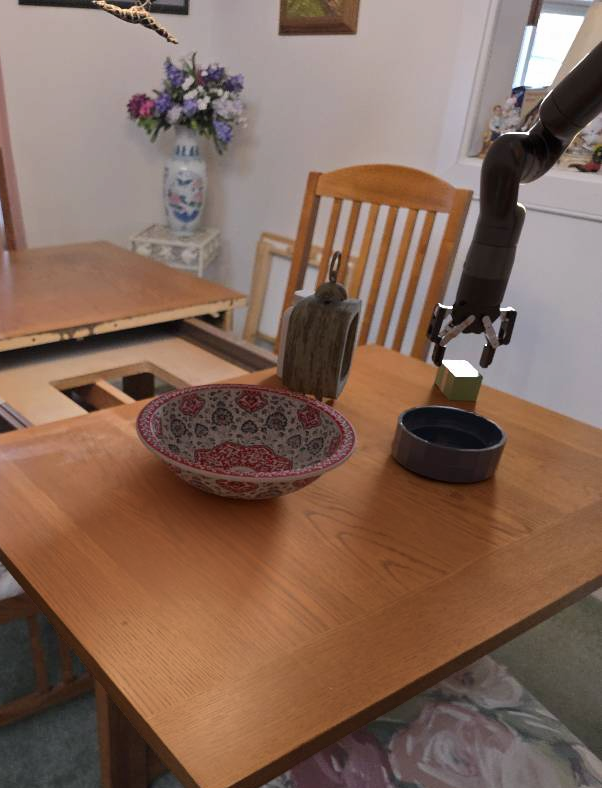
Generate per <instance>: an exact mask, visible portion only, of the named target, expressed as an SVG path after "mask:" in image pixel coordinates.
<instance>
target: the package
mask: <svg viewBox="0 0 602 788" xmlns="http://www.w3.org/2000/svg"><path fill="white" fill-rule="evenodd" d="M483 379H484V376H483V375H482V374H481V373H480V372H479V371H478V370H477V369H476V368H475V367H473V366H472V365H471V363H470V362H468V361H467V360H455V359H453V360H451V359H443V361H442V365H441V367H437V369H436V374H435V378H434V382H433V384H434V383H435V384H436V385H437V386H438V387H439V388H438V387H437V386H436V385H435V384H434V385H435V386H436V387H437V388H438V390H439V391H440V390H441V391H440V392H441V393H442V395H444V396H445V398H446V399H447V401H455V402H456V401H460V402H461V401H464V402H465V401H466V402H477V400H478V397H479V393H480V391H481V387H482V383H483Z"/></svg>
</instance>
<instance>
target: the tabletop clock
mask: <svg viewBox="0 0 602 788" xmlns="http://www.w3.org/2000/svg"><path fill="white" fill-rule="evenodd" d="M336 261H337V265H336V268H335V269H334V267H335V264H336ZM341 263H342V251H341V250H336V251H335V252H334V254H333V256H332V258H331V261H330V265H329V270H328V281H326V282H325V281H324V282H322V283H321V284H319V285H318V286H317V288H316V289H315V290H314V291H315V293H314V294H313V295H310V296H307V297H305V298H303V299H302V300H300V301H299V302H298V304H297V305H296V306H295V307H294V309H293V310H292V312H291V315H290V318H289V323H288V329H287V336H286V344H285V352H284V361H283V370H282V378H281V384H282V385H283V386H284V387H285V388H286V389H288V391H291V392H295V393H298V394H301V395H304V396H313V397H314V399H315V400H317V401H320V402H322V403H323V398H325V399H328V400H335V401H337V400H338V399H339V397H340V396H341V394H342V393H343V391H344V389H345V387H346V385H347V382H348V379H349V377H350V372H351V368H352V363H353V358H354V353H355V348H356V342H357V337H358V331H359V327H360V326H359V324H360V321H361V320H360V319H361V314H362V304H363V299H360V298H359V299H358V298H353V297H348V293H347V290H346V288H345V287H344V285H343V284H342V283H340V282H337V280H338V276H339V273H340V268H341Z"/></svg>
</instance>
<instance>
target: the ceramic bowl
mask: <svg viewBox="0 0 602 788" xmlns="http://www.w3.org/2000/svg"><path fill="white" fill-rule="evenodd" d="M135 431H136V434H137V437H138V439H139V441H140V442H141V444H142V445H143V446H144V447H145V448H146V449H147V450H148V451H149V452H150V453H152V454H153V455H154V456H156V457H158V458H159V459H160V460H161V461H162V462H163V464H164V465H165V466H166V467H167V468H168V469H169V470H170V471H171V472H172V473H173V474H175V475H176V476H177V477H178V478H180V479H181V480H183V481H184V482H185V483H187V484H189V485H190V486H193V487H194V488H197V489H199V490H201V491H203V492H205V493H209V494H213V495H216V496H220V497H224V498H230V499H238V500H263V499H264V500H266V499H272V498H278V497H283V496H286V495H289V494H293V493H294V492H297V491H300V490H302V489H304V488H306V487H307V486H309V485H311V484H313V483H314V482H316V481H317V480H319V478H321V477H323V475H325V474H326V473H328V472H331V471H333V470H335V469H337V468H338V467H341V465H343V464H345V463H346V462H347V461H348V460H349V459H350V457H351V456H352V455H353V453H354V452H355V450H356V446H357V434H356V433H357V432H356V431H355V429H354V427H353V425H352V423H350V421H349V420H348V419H347V418H346V416H344V415H343V414H341V413H340V412H339V411H338V410H337V409H335V408H333V407H332V406H329V405H327V404H326V403H324V402H323V401H322V402H320V401H317V400H316V398H313V397H310V396H308V395H305V396H304V395H302V394H301V393H296V392H291V391H290V390H286V389H284V388H283V389H282V388H279V387H278V388H276V387H273V386H272V387H271V386H266V385H257V384H248V383H208V384H200V385H193V386H188V387H182V388H177V389H175V390H172V391H169V392H166V393H164V394H161V395H159V396H157V397H155V398H154V399H152V400H149V402H148V403H146V404H145V405H144V406H143V407H142V408H141V409H140V411H139V412H138V414H137V416H136V420H135Z"/></svg>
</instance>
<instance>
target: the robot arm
mask: <svg viewBox="0 0 602 788" xmlns="http://www.w3.org/2000/svg"><path fill="white" fill-rule="evenodd" d="M600 114H602V40H601V41H599V43H598V44H597V45H595V46H594V48H592V49H591V50H590V51H589V52H588V53H587V54H586V55H585V56H584V57H583V58H582V59H581V60H580V61H579V62H578V63H577V64H576V65H575V66H574V67H573V68H572V69H571V70H570V71H569V72H568V73H567V75H565V77H564V78H562V80H561V81H560V82H559V83H558V84H557V85H556V86H555V87H554V88H553V89H552V90H551V91H550V92H549V93H548V94H547V95H546V97H545V98H544V99H543V101H542V102H541V104H540V106H539V108H538V118H539V119H538V120H537V122H535V124H534V125H533V126H532V127H531V128H530V129H529V130H528V131H527V132H505V133H503V134H501V135H499V136H497V138H495V139H494V140H493V142H491V143H490V145H489V147H488V148H487V151H486V152H485V154H484V157H483V159H482V163H481V168H480V175H479V176H480V178H479V179H480V180H479V196H478V197H479V213H478V216H477V220H476V224H475V227H474V230H473V235H472V239H471V242H470V245H469V248H468V250H467V251H466V252H467V253H466V256H465V259H464V262H463V264H462V270H461V275H460V279H459V282H458V286H457V291H456V294H455V300H454V302H453V304H452V306H447V305H446V306H445V305H442V304H441V303H436V304H434V307H433V309H432V313H431V317H430V320H429V322H428V326H427V330H426V333H425V337H426V338H427V339H428V340H429V341H430V342H431V343H434V344H433V345H434V346H433V349H432V353H431V361H432V363H433V365H434V366H435V367H437V368H438V367H441V365H442V361H443V360H444V357H445V353H446V349H447V346H446V345H447V344H448V343H449V342H450V341H452V340H453V339H455V338H457V337H458V336H459V335H460V334H461V333H462V334H464V335H469V334H475V335H481V334H482V335H483V337H484V339H485V342H486V344H484V345H483V349H482V352H481V354H480V359H479V363H478V364H479V365H478V366H479V367H480V368H482V369H488V367H489V366H491V365H492V363H493V361H494V357H495V353H496V351H497V349H498V348H499V347H500V346H503V345H504V346H508V345H510V343H511V339H512V335H513V331H514V328H515V324H516V321H517V320H516V319H517V316H518V312H517V310H516V309H514V308H512V307H511V306H506V307H505V308H501V304H502V303H503V301H504V297H505V294H506V291H507V288H508V284H509V280H510V278H511V274H512V270H513V267H514V264H515V261H516V256H517V255H516V254H517V248H518V244H519V241H520V238H521V234H522V231H523V228H524V224H525V220H526V215H527V212H526V208H525V206H524V205H522V204H521V203H519V202H518V201H519V193H520V185H529V184H532V183H534V182H537V181H538V180H539V179H541V178H542V177H543V176H545V175H546V174H547V173H548V172H550V170H552V168H553V167H554V166H555V165H556V164H557V163H558V161H559V160H560V159H561V158H562V156H563V155H564V153H565V152H567V149H568V148H569V147H570V146H571V144H572V143H573V141H574V140H575V139H576V137H577V135H579V133H581V132H582V131H583V130H584V129H585V128H586V127H588V126H589V125H590V124H591V123H592V122H593V121H594V120H595V119H596V118H597V117H598V116H599V115H600ZM449 315H450V318H451V319H450V320H449V321H448V322H447V323H446V324H445V325H444V327H443V329H442V326H443V322H444V321H445V320H446V319H447V318H448V316H449ZM498 319H499V320H500V325H499V330H498V334H497V333H496V331H495V328H494V326H493V324H494V323H495V322H496V321H498ZM441 329H442V330H441Z"/></svg>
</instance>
